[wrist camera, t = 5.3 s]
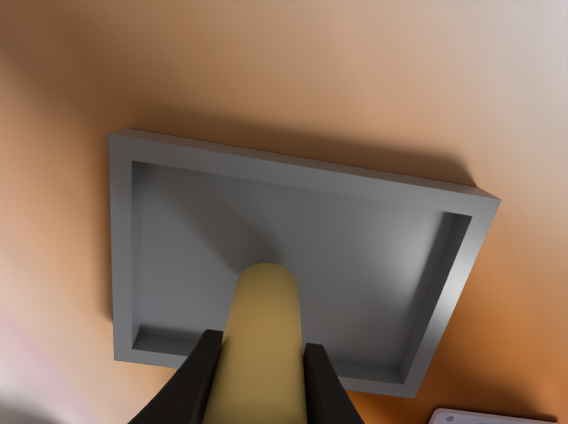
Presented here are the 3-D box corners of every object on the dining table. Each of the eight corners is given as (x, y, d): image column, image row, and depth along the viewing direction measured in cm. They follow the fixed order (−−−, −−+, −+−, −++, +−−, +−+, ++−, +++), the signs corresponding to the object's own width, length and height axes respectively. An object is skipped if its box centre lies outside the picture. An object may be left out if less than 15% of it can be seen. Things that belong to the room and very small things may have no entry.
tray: (477, 187, 17) (501, 199, 15) (403, 371, 22) (414, 399, 20) (128, 128, 16) (108, 133, 14) (129, 335, 21) (113, 360, 19)
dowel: (304, 267, 16) (318, 407, 9) (292, 319, 17) (297, 478, 10) (239, 258, 16) (204, 393, 9) (232, 311, 17) (196, 467, 10)
